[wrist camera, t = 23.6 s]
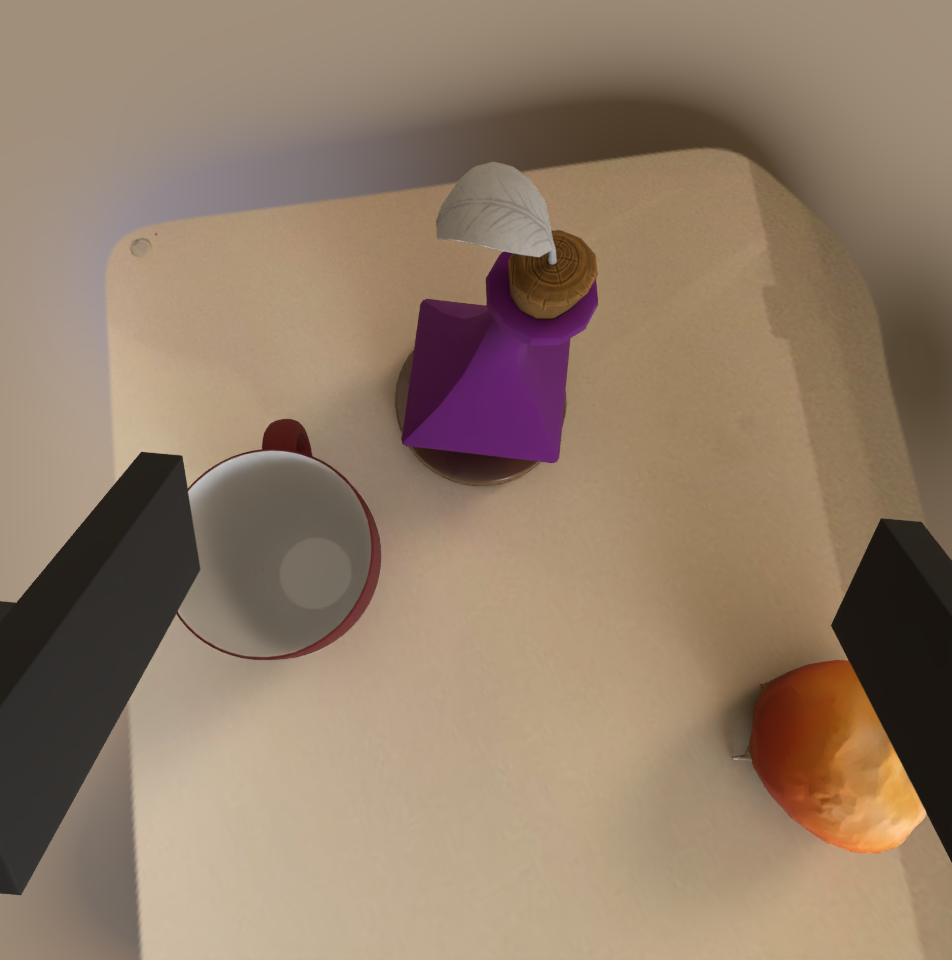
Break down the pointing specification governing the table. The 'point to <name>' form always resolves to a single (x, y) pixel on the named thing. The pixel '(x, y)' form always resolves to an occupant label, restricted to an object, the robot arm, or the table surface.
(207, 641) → the mug
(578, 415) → the table surface
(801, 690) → the fruit
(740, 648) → the table surface
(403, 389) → the coaster
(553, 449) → the perfume bottle
